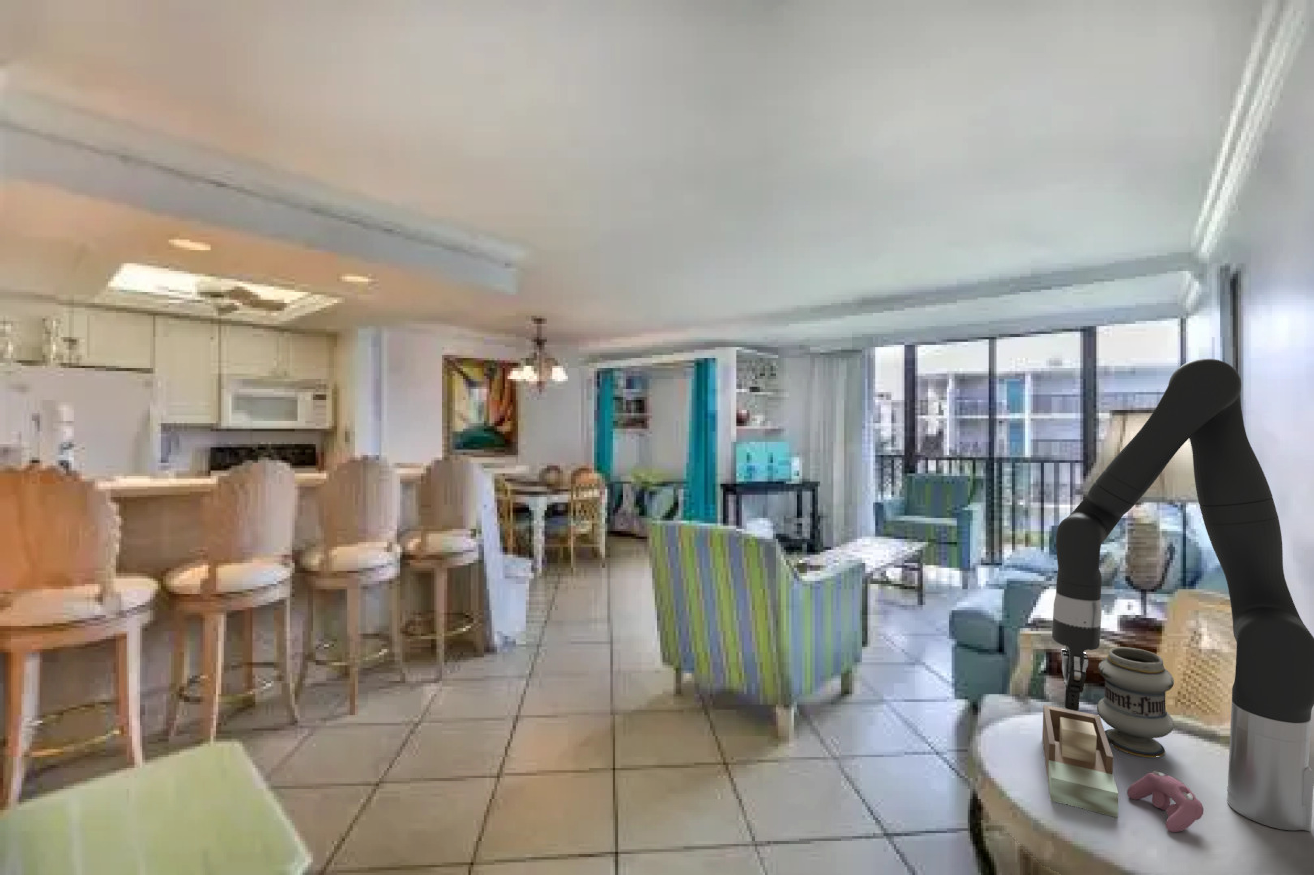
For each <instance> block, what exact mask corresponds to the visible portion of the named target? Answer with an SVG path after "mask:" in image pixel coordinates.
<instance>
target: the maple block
mask: <svg viewBox="0 0 1314 875" xmlns="http://www.w3.org/2000/svg"><path fill="white" fill-rule="evenodd" d="M1096 740H1097V735H1096V732H1095V729H1094V725H1093V723H1089V722H1084V721H1079V720H1074V719H1069V718H1064V717H1060V738H1059V744H1060V750H1061V755H1062V757H1067V758H1071V759H1076V760H1080V761H1085V762H1089V763H1094V764H1096Z"/></svg>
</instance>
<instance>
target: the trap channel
mask: <svg viewBox="0 0 1314 875" xmlns="http://www.w3.org/2000/svg"><path fill="white" fill-rule="evenodd" d="M1042 710H1043V711H1042V713H1043V714H1042V738H1041V741H1042V747H1043V754H1044V761H1045V762H1044V763H1045V769H1046V776H1047V785H1048V791H1049V792H1048V793H1049V798H1050V799H1049V800H1050V802H1054V803H1058V804H1062V803H1063V804H1062V805H1066V804H1068V805H1067V806H1070V805H1071V807H1074V806H1075V808H1078V807H1080V808H1079V809H1082V808H1083V809H1082V810H1086V811H1090V812H1094V813H1098V812H1099V813H1098V814H1102V815H1106V816H1110V817H1114V818H1119V816H1118V814H1119V791H1118V787H1117V785H1116V781H1115V778H1114V774H1113V771H1114V755H1113V753H1112V749H1111V747H1110V743H1108V740H1107V737H1106V734H1105V731H1106V730H1105V727H1104V725H1103V722H1102V718H1101V717H1100V716H1099V714H1098V715H1097V714H1093V713H1087V712H1083V711H1079V710H1078V711H1074V710H1069V709H1066V708H1061V707H1057V706H1051V705H1046V704H1043V707H1042ZM1060 717H1064V718H1069V719H1074V720H1079V721H1084V722H1089V723H1093V725H1094V729H1095V732H1096V735H1097V740H1096V764H1094V763H1089V762H1085V761H1080V760H1076V759H1071V758H1067V757H1062V755H1061V750H1060V744H1059V738H1060Z"/></svg>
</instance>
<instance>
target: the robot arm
mask: <svg viewBox="0 0 1314 875" xmlns="http://www.w3.org/2000/svg"><path fill="white" fill-rule="evenodd" d="M1167 384H1168V385H1167V387H1166V389H1165V391H1164V393H1163V395H1162V397H1161V399H1160V400H1159V402H1158V403H1157V405H1156V407H1155V409H1154V410H1153V412H1152V413H1151V415H1150V416H1149V418H1148V419H1147V420H1146V422H1145V423H1144V424H1143V426H1142V427H1141V428H1140V429H1139V431H1138V432H1136V434H1135V435H1134V436H1133V437H1132V439H1130V441H1129V442H1128V443H1127V444H1126V445H1125V447H1123V448H1122V450H1121V451H1120V452H1119V453H1118V454H1117V455H1116V456H1115V457H1114V458H1113V459H1112V461H1111V462H1110V463H1109V464H1108V465H1107V467H1106V468H1105V469H1104V470H1103V471H1102V473H1101V474H1100V475H1099V476H1098V477H1097V478H1096V480H1095V481H1094V483H1093V484H1092V485H1091V487H1090V488H1089V490H1088V492H1087V495H1086V496H1085V497H1084V498H1083V499H1082V501H1080V503H1079V504H1078V506H1076V508H1074V510H1073V511H1072V512H1071V513H1070V514H1069V515H1068V516H1067V517H1065V518H1064V519H1062V521H1060V523H1059V524H1058V525H1057V530H1056V537H1055V547H1056V558H1057V574H1056V587H1055V588H1056V589H1055V597H1054V600H1053V609H1052V610H1053V611H1052V612H1053V613H1052V614H1053V615H1052V626H1051V627H1052V629H1051V639H1052V640H1053V641H1054V642H1055V643H1057V644H1059V645H1060V646H1065V648H1061V651H1060V652H1061V653H1060V656H1061V659H1062V660H1061V671H1062V678H1063V684H1064V685H1063V686H1064V701H1063V703H1064V707H1065V708H1064V709H1068V710H1073V711H1078V712H1079V710H1080V695H1081V694H1080V693H1083V691H1084V686H1085V683H1086V682H1085V681H1086V678H1087V672H1086V671H1087V668H1088V666H1089V658H1088V657H1087V653H1086V652H1085V651H1094V650H1097V649H1098V648H1099V647H1100V644H1101V628H1102V627H1101V626H1102V625H1101V624H1102V600H1101V596H1102V581H1103V580H1102V572H1101V570H1100V559H1101V558H1100V557H1101V549H1102V544H1103V543H1104V541H1106V540H1107V538H1108V537H1109V535H1110V534H1111V533H1112V531H1113V530H1114V529H1115V527H1116V526H1117V525H1118V524H1119V522H1120V521H1121V520H1122V518H1123V516H1124V515H1126V514H1128V512H1129V511H1130V510H1131V509H1132V508H1133V507H1134V506H1135V505H1136V504H1137V503H1138V502H1139V501H1140V499H1141V498H1142V497H1143V496H1144V495H1145V494H1146V493H1147V491H1148V490H1149V489H1150V487H1151V486H1153V484H1154V483H1155V481H1156V480H1157V478H1158V477H1159V476H1160V475H1161V474H1162V472H1163V470H1164V469H1165V468H1166V466H1167V465H1168V464H1169V463H1170V461H1171V460H1172V458H1174V456H1175V455H1176V454H1177V452H1178V451H1179V450H1180V449H1181V448H1182V446H1183V445H1184V444H1185V443H1186V442H1187V441H1188V440H1189V441H1190V445H1191V450H1192V451H1191V452H1192V463H1193V464H1192V466H1193V477H1194V485H1195V491H1196V496H1197V501H1198V505H1199V508H1200V513H1201V516H1202V521H1203V523H1204V527H1205V531H1206V533H1207V535H1208V539H1209V540H1210V541H1209V542H1210V544H1211V546H1212V549H1213V552H1214V553H1215V554H1214V555H1215V556H1216V558H1217V561H1218V562H1219V563H1218V564H1220V567H1221V569H1222V571H1223V574H1224V577H1225V581H1226V584H1227V589H1228V595H1229V601H1230V608H1231V616H1232V617H1231V618H1232V631H1233V632H1232V633H1233V637H1234V639H1235V642H1236V653H1235V654H1236V655H1235V656H1236V657H1235V669H1234V670H1235V672H1234V673H1235V674H1234V681H1233V685H1232V687H1231V689H1232V690H1231V691H1232V692H1231V706H1230V707H1231V709H1230V710H1231V711H1230V731H1229V732H1230V733H1229V734H1230V735H1229V751H1228V752H1229V753H1228V773H1227V787H1226V791H1227V794H1226V796H1227V799H1226V801H1227V803H1228V805H1229V806H1230V807H1231V809H1233V811H1236V813H1238V814H1240V815H1241V816H1243V817H1245V818H1247V819H1249V820H1251V821H1254V822H1255V823H1259V824H1261V825H1264V826H1267V827H1270V828H1275V829H1278V830H1286V831H1301V830H1303V831H1306V832H1312V820H1313V819H1312V818H1313V799H1314V770H1313V769H1311V767H1310V766H1309V763H1310V762H1309V759H1310V758H1309V756H1310V744H1311V743H1310V742H1311V740H1310V739H1311V721H1312V709H1313V707H1314V635H1312V633H1311V632H1310V630H1309V628H1307V626H1306V625H1305V623H1304V622H1303V619H1302V618H1301V616H1300V614H1299V612H1298V609H1297V608H1296V605H1295V602H1294V600H1293V597H1292V595H1291V592H1290V590H1289V587H1288V583H1287V581H1286V580H1287V579H1286V577H1285V572H1284V561H1283V560H1284V557H1283V556H1284V553H1283V539H1282V538H1283V536H1282V528H1281V525H1280V519H1279V515H1278V512H1277V508H1276V505H1275V500H1274V497H1273V494H1272V490H1271V488H1270V485H1269V483H1268V480H1267V477H1266V475H1265V473H1264V470H1263V468H1262V465H1261V464H1260V462H1259V460H1258V458H1257V456H1256V454H1255V452H1254V450H1253V447H1252V446H1251V443H1250V441H1249V439H1248V435H1247V432H1246V426H1245V422H1244V417H1243V416H1244V415H1243V411H1242V410H1243V409H1242V403H1241V395H1240V394H1241V390H1242V380H1241V377H1240V374H1239V373H1238V371H1237V370H1236V369H1235V367H1234V366H1232V365H1230V364H1229V363H1227V362H1225V361H1223V360H1220V359H1218V358H1217V359H1215V358H1198V359H1193V360H1191V361H1188V362H1185V363H1184V364H1182V365H1181V366H1179V367H1178V368H1177V369H1176V370H1175V371H1174V372H1173V373H1172V375H1171V377H1170V379H1169V381H1168V383H1167Z"/></svg>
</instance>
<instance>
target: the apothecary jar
mask: <svg viewBox="0 0 1314 875" xmlns="http://www.w3.org/2000/svg"><path fill="white" fill-rule="evenodd" d="M1098 672H1099V674H1100V676H1102V678H1103V679H1104V697H1102V698H1101V699H1100V700H1099V701H1098V702H1097V705H1096V711H1097V714H1098V715H1099V716H1100V719H1101V720H1103V722H1104V723H1106V725H1108V726H1110V728H1109V729H1106V730H1104V731H1105V734H1106V737H1107V740H1108V743H1109V745H1112V747H1114V748H1115V749H1117V750H1119V751H1121V752H1123V753H1127V754H1130V755H1133V756H1137V757H1141V758H1142V757H1143V758H1149V757H1155V758H1157V757H1156V756H1160V757H1162V755H1163V756H1164V755H1165V754H1166V749H1165V747H1164V746H1163V744H1161V743H1160V742H1159V741H1157V740H1156V739H1158V738H1163V737H1166V736H1168V735H1169V734H1171V733H1172V731H1173V730H1174V727H1175V724H1174V720H1173V718H1172V716H1171V715H1170V713H1169V712H1168V711H1167V710H1166V707H1167V706H1166V694H1167V693H1166V692H1168V691H1170V690H1171V689H1173V687H1174V684H1175V680H1174V677H1173V674H1171V672H1170V671H1168V670H1167V668H1165V665H1164V660H1163V658H1162V657H1161V656H1160V655H1158V654H1156V653H1155V652H1152V651H1148V650H1144V649H1141V648H1134V647H1125V646H1117V647H1112V648H1110V649H1109V651H1108V654H1107V657H1105V658H1103V659H1102V660H1101V661H1100V662H1099V663H1098ZM1164 753H1165V754H1164Z"/></svg>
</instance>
